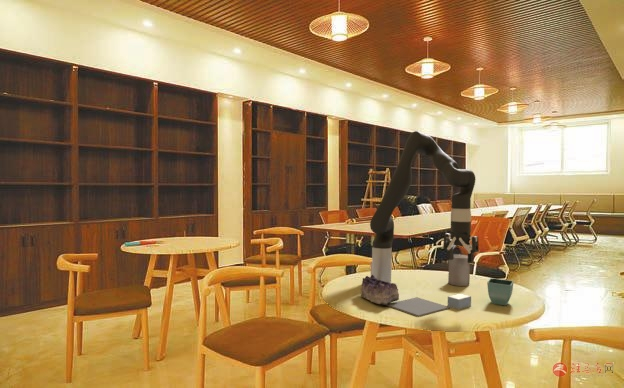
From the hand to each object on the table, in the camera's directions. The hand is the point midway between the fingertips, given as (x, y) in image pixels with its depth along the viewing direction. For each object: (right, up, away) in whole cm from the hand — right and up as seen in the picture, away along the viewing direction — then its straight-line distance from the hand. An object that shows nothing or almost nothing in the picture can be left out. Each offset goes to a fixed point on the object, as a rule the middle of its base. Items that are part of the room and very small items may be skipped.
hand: (460, 261), depth 158 cm
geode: (-32, -17, +6) cm, 37 cm away
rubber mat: (-17, -18, -2) cm, 25 cm away
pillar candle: (+13, -17, +36) cm, 42 cm away
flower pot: (+18, -18, +4) cm, 26 cm away
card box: (0, -18, 0) cm, 18 cm away
